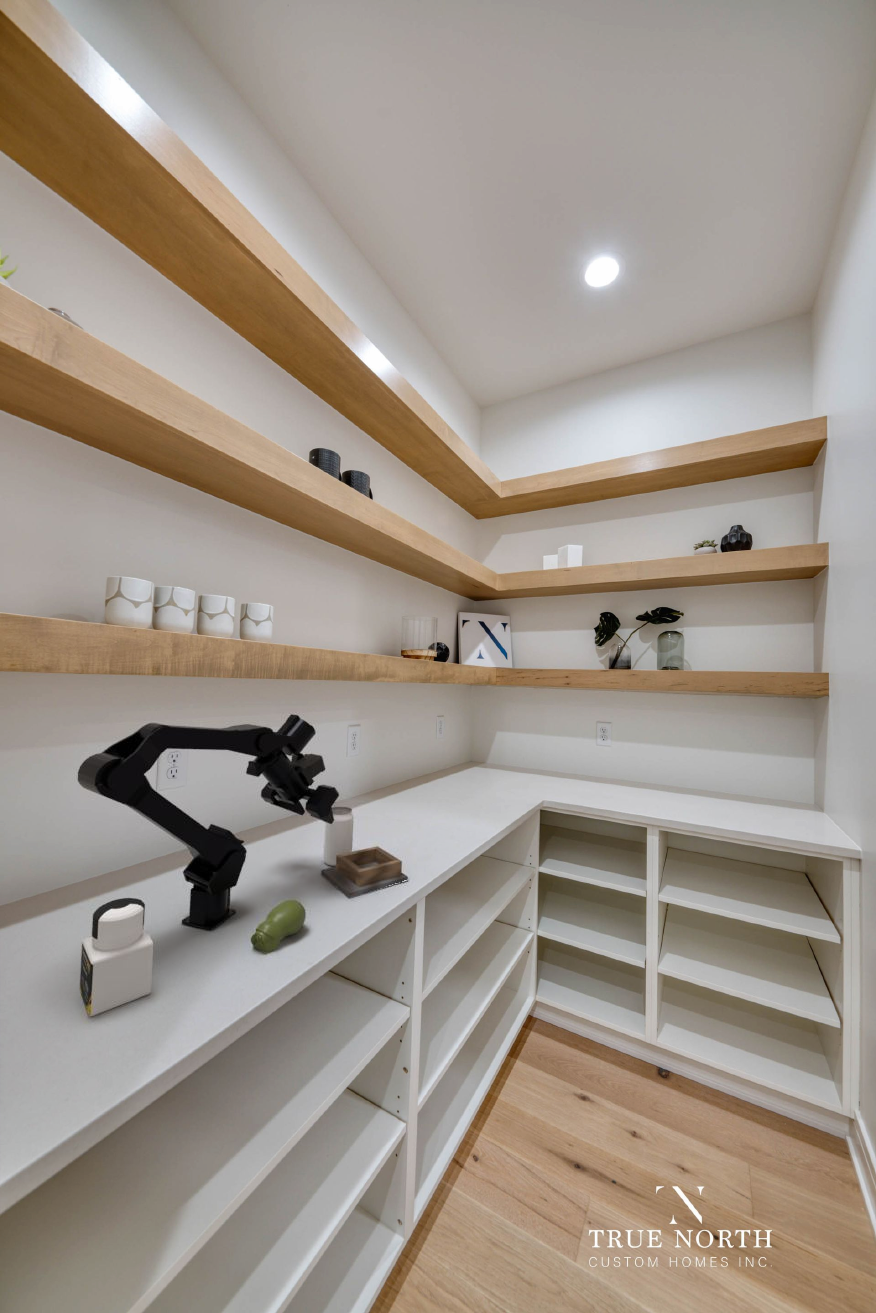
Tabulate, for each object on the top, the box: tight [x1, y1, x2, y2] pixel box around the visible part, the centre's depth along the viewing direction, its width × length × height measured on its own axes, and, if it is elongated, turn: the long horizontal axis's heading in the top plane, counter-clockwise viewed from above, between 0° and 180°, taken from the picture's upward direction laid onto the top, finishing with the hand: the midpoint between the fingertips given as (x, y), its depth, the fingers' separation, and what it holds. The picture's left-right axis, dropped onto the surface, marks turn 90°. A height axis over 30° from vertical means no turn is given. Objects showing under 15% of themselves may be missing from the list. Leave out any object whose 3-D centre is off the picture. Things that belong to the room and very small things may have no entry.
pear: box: [250, 899, 307, 954], centre depth 82 cm, size 6×5×10 cm
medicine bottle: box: [79, 897, 154, 1017], centre depth 67 cm, size 7×7×12 cm
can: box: [323, 806, 354, 867], centre depth 114 cm, size 6×6×12 cm
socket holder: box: [320, 845, 409, 899], centre depth 106 cm, size 14×13×4 cm
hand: (317, 817), depth 108 cm, fingers open, 9 cm apart
